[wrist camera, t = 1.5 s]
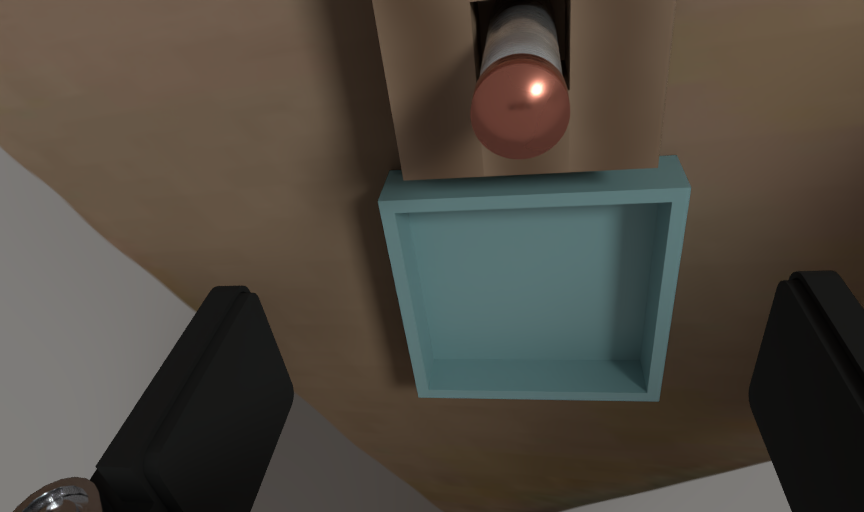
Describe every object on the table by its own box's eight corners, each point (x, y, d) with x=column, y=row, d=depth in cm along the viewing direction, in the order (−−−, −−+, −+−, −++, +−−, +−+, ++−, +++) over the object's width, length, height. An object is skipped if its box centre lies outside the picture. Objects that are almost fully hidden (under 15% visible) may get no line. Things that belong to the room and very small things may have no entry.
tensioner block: (664, -152, 24) (692, -146, 20) (641, 123, 31) (657, 167, 27) (380, -112, 26) (354, -100, 22) (418, 137, 33) (403, 180, 29)
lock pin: (556, -19, 26) (571, 61, 18) (556, 52, 28) (569, 157, 20) (485, -12, 27) (465, 70, 18) (490, 58, 29) (474, 161, 20)
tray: (676, 155, 32) (691, 187, 29) (649, 362, 41) (659, 401, 38) (389, 170, 35) (377, 201, 32) (425, 360, 44) (418, 397, 41)
